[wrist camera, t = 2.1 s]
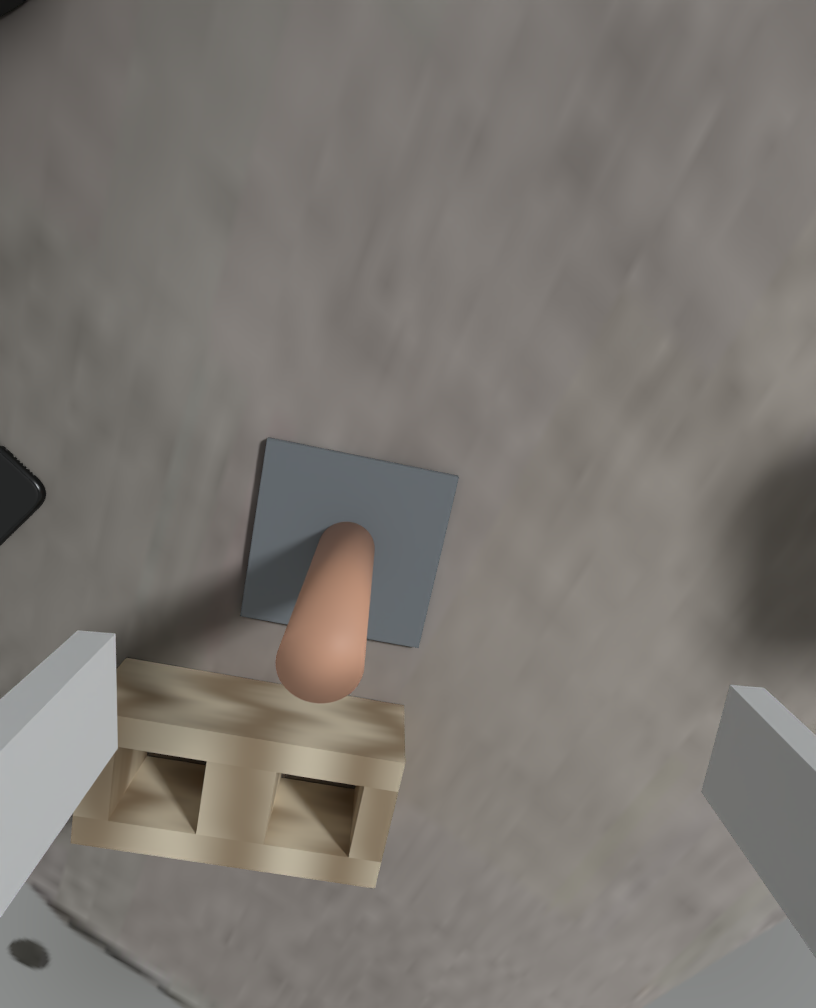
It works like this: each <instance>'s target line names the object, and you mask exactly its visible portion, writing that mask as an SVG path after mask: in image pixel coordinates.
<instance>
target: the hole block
mask: <svg viewBox="0 0 816 1008" xmlns="http://www.w3.org/2000/svg"><path fill="white" fill-rule="evenodd" d="M116 683H117V732H118V749H117V750H116V752H115V753H114V754H113V756H112V757H111V759H110V760H109V762H108V763H107V765H106V766H105V767H104V769H103V770H102V772H101V773H100V775H99V776H98V777H97V779H96V780H95V782H94V783H93V785H92V786H91V788H90V789H89V790H88V792H87V793H86V795H85V796H84V798H83V799H82V801H81V802H80V803H79V805H78V806H77V808H76V809H75V811H74V812H73V821H72V833H71V843H72V844H79V845H86V846H93V847H99V848H106V849H113V850H120V851H126V852H133V853H140V854H147V855H153V856H160V857H167V858H173V859H180V860H187V861H194V862H200V863H207V864H214V865H221V866H227V867H234V868H241V869H248V870H254V871H261V872H268V873H274V874H281V875H288V876H295V877H301V878H308V879H315V880H322V881H328V882H335V883H342V884H348V885H355V886H362V887H369V888H375V885H376V881H377V877H378V873H379V869H380V865H381V861H382V857H383V853H384V849H385V844H386V840H387V836H388V832H389V828H390V824H391V820H392V816H393V812H394V807H395V803H396V799H397V795H398V791H399V787H400V783H401V779H402V775H403V771H404V766H405V734H404V705H399V704H393V703H387V702H381V701H375V700H369V699H364V698H358V697H352V696H346V697H344V698H342V699H340V700H337V701H335V702H331V703H311V702H307V701H304V700H302V699H300V698H298V697H296V696H294V695H293V694H291V693H290V692H289V691H288V690H287V689H286V688H285V687H284V686H283V685H282V684H276V683H271V682H265V681H259V680H253V679H247V678H242V677H236V676H230V675H224V674H218V673H213V672H207V671H201V670H195V669H189V668H183V667H178V666H172V665H166V664H160V663H154V662H149V661H143V660H137V659H131V658H126V659H125V660H124V661H123V662H122V663H121V664H120V666H119V667H118V668H117V669H116ZM147 752H152V753H159V754H165V755H171V756H177V757H184V758H190V759H196V760H202V761H207V763H206V765H200V764H194V763H188V762H182V761H175V760H169V759H163V758H157V757H150V756H147ZM282 773H283V774H289V775H295V776H301V777H308V778H314V779H320V780H326V781H333V782H339V783H345V784H351V785H355V789H350V788H344V787H337V786H331V785H325V784H319V783H312V782H306V781H300V780H294V779H287V778H281V775H282Z"/></svg>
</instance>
